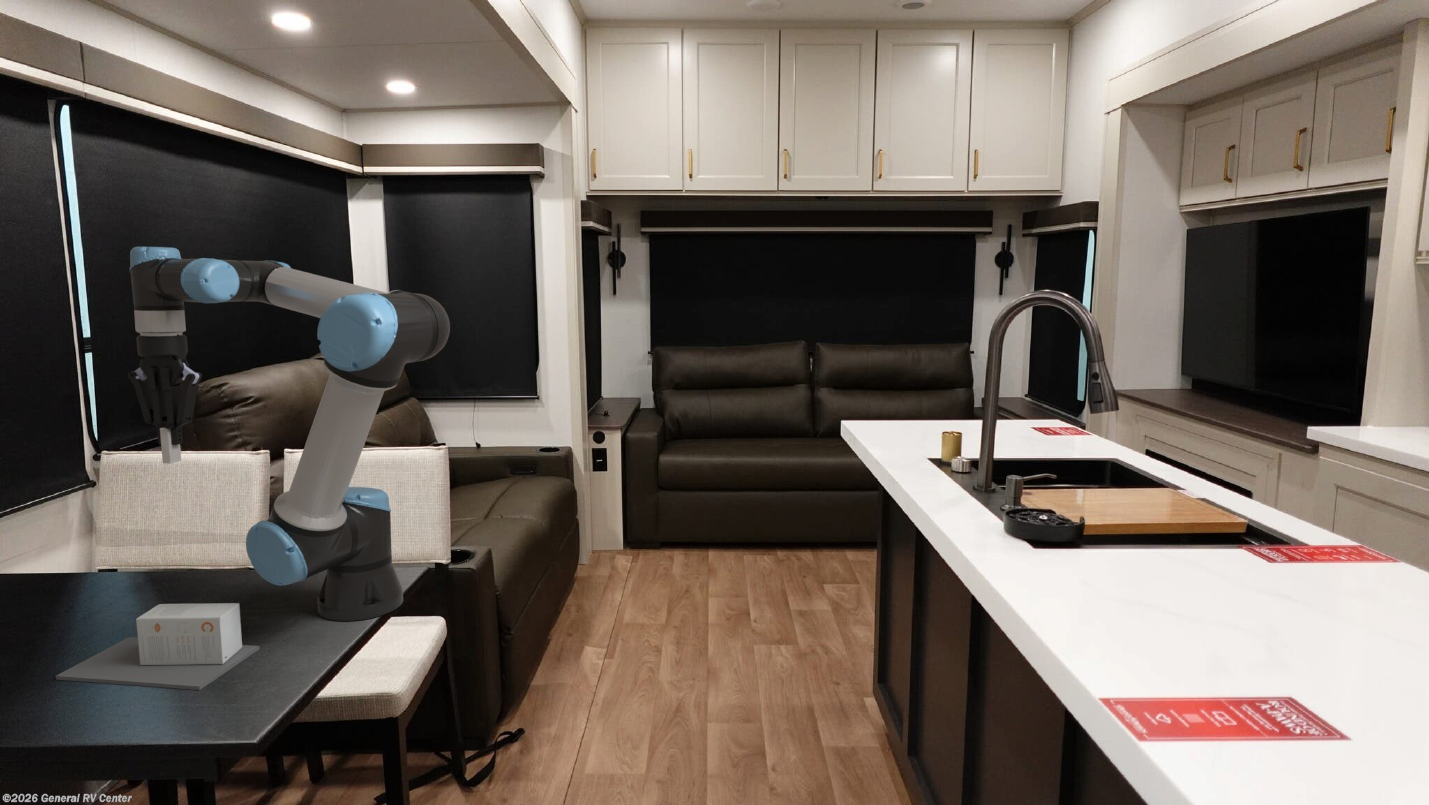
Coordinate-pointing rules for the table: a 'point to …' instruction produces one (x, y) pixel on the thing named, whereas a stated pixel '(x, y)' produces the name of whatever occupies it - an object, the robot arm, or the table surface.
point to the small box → (189, 634)
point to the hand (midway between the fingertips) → (172, 461)
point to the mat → (148, 669)
